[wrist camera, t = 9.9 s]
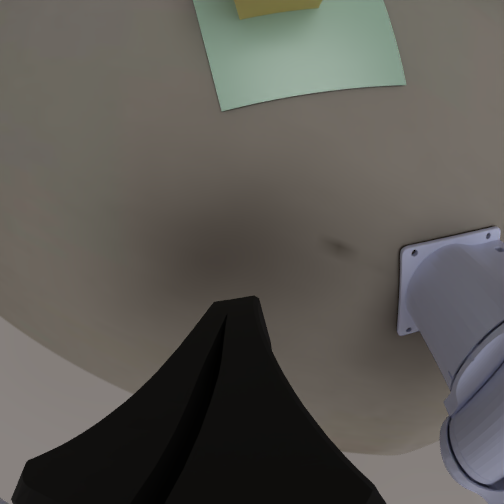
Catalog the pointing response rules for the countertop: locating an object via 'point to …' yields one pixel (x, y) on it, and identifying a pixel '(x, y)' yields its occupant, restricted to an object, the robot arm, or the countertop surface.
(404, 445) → the countertop surface
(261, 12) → the yellow brick
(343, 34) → the baseplate
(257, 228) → the countertop surface
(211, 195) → the countertop surface
